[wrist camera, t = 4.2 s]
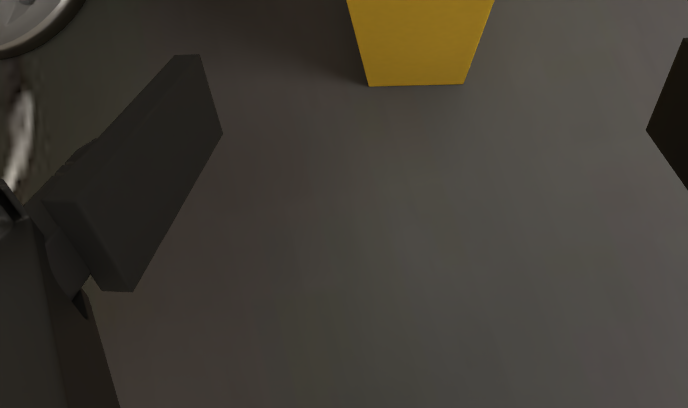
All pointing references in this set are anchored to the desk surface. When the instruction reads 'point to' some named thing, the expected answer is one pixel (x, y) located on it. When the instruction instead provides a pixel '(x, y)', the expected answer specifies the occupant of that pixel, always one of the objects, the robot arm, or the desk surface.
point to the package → (417, 39)
